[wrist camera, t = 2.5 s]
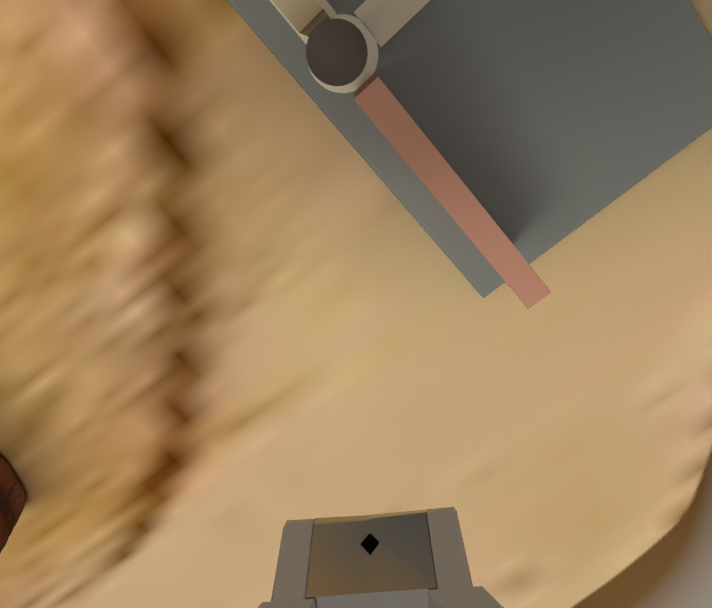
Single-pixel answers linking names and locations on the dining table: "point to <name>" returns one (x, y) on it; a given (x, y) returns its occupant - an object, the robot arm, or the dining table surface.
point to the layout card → (516, 103)
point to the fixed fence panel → (327, 42)
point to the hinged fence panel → (449, 189)
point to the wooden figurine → (9, 501)
